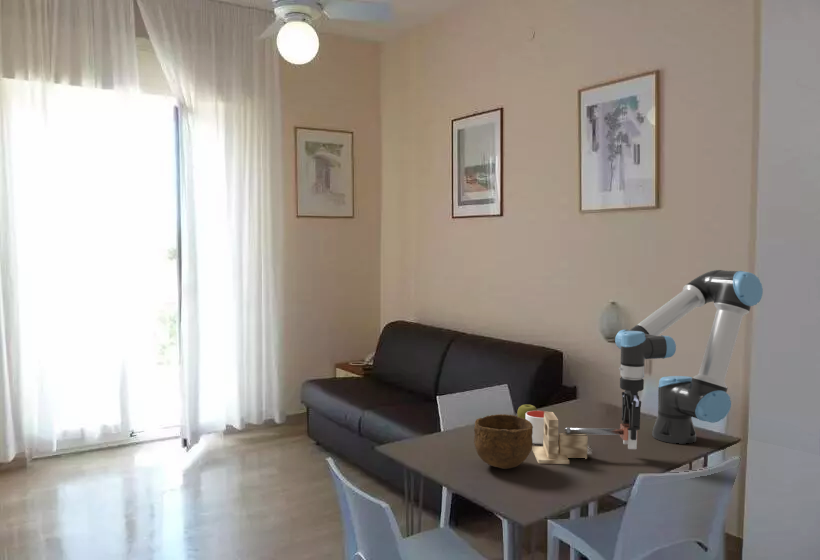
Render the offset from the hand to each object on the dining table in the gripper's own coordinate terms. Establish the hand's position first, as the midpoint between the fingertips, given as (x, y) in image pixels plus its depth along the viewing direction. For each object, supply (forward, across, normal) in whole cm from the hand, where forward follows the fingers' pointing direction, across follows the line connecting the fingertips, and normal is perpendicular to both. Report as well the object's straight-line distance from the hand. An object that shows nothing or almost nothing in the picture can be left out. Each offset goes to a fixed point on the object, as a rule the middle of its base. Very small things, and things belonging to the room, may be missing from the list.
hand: (629, 446), depth 216 cm
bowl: (+4, +11, -44) cm, 45 cm away
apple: (+4, -40, -28) cm, 49 cm away
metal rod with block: (-3, 0, -10) cm, 10 cm away
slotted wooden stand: (+4, 0, -23) cm, 23 cm away
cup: (+4, -17, -28) cm, 33 cm away
